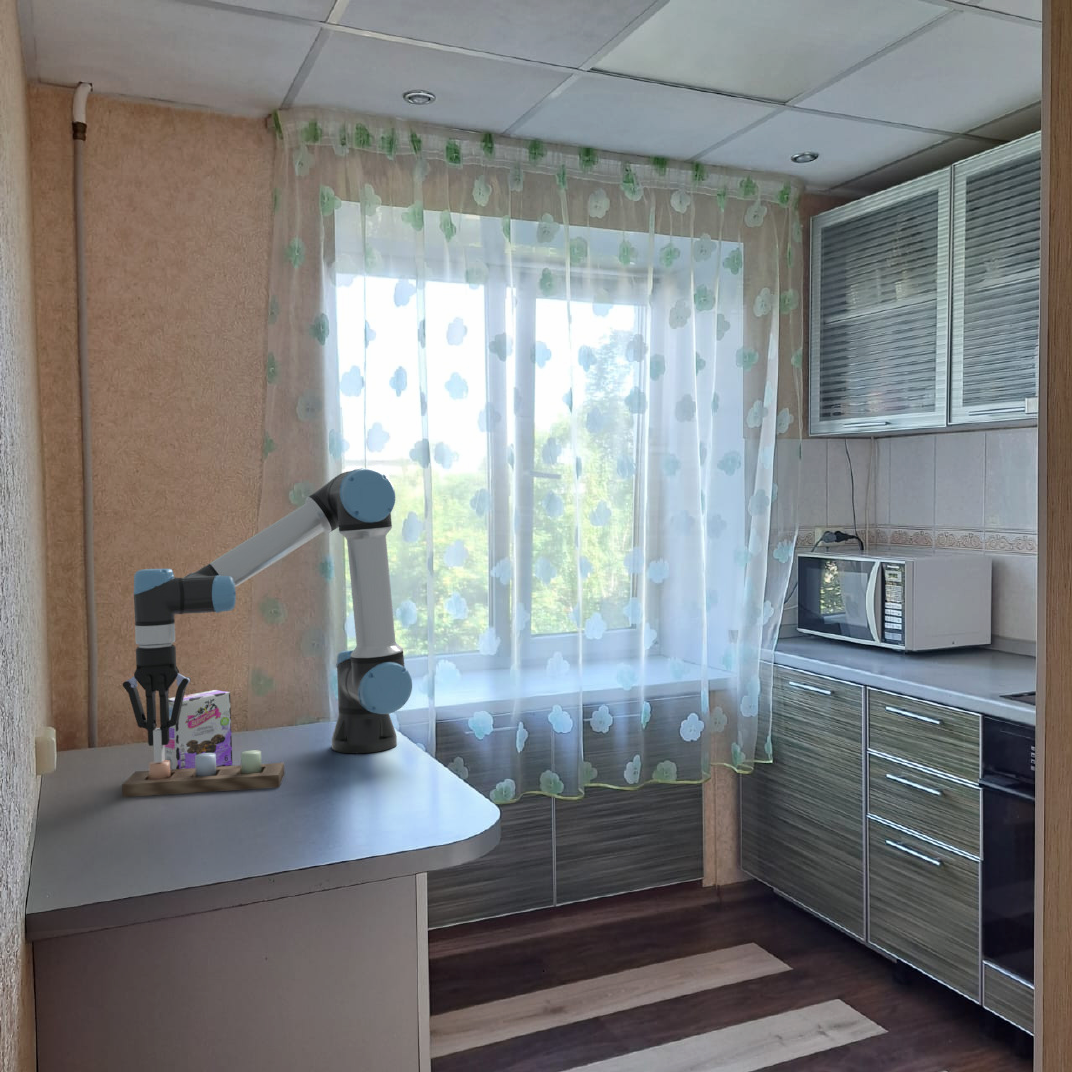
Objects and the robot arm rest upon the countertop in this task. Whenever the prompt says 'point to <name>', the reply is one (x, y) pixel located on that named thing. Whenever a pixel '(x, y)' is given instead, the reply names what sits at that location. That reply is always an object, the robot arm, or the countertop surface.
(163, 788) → the panel
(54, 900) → the countertop surface
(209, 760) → the button blue
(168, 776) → the button terracotta
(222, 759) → the candy box
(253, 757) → the button sage
